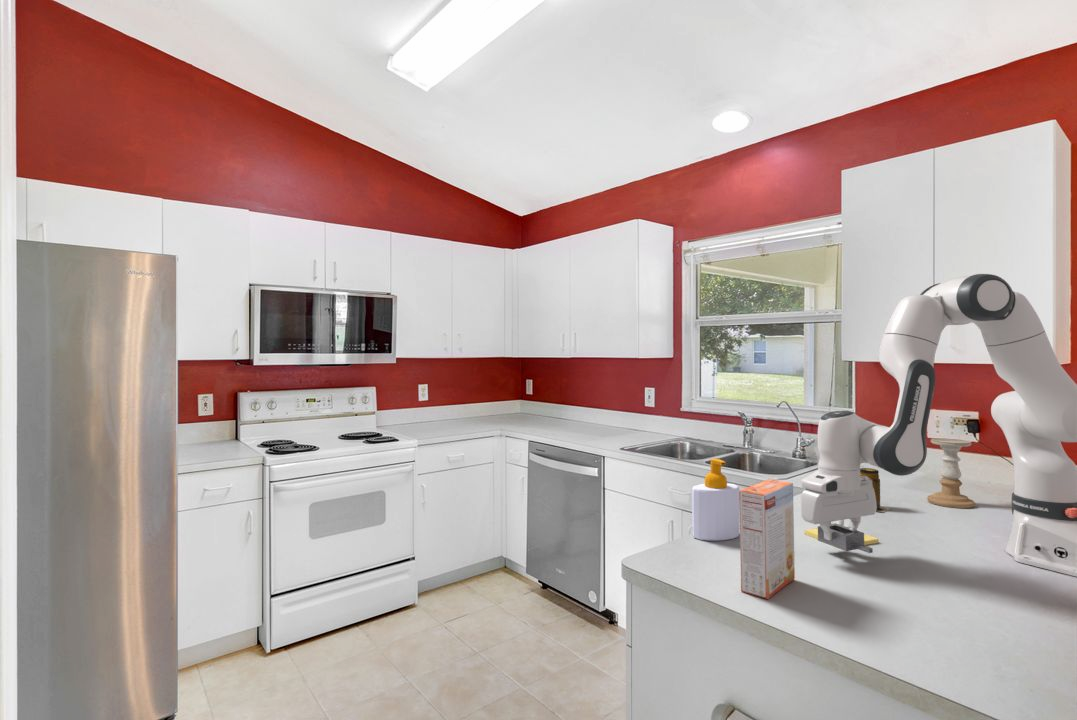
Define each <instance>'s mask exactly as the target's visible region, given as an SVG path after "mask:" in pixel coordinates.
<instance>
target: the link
mask: <svg viewBox="0 0 1077 720" xmlns="http://www.w3.org/2000/svg"><path fill="white" fill-rule="evenodd" d="M829 527H830V529H831V531H832V532H835V536H834V537H835V539H833V540H827V539H825V538H824V531H823V530H822V528H821V526H820V525H818V526H817V528H818V539H817V541H819V542H821V543H823V544H826V545H829V546H831V547H833V548H836V549H840V550H842V551H845V552H849V551H854V550H860V551H862V552H865V553H867V554H873V553H874V551H873V547H870V546H868V545H864V534H865V532H862V531H860V530H858V529H857V530H854V529H851V528H848V527H849V526H845V525H844V526H842V525H839V524H837V522H835V523H831V526H829Z"/></svg>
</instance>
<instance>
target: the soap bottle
mask: <svg viewBox="0 0 1077 720" xmlns="http://www.w3.org/2000/svg"><path fill="white" fill-rule="evenodd" d="M722 466H726V461H724V460H722V459H720V458H711V459H710V472H709V473H707V474H706V475H705V476H704V477H705V478H704V483H700V484H697V485H694V486H692V488H691V503H692V504H691V512H692V513H691V515H692V516H691V519H692V520H691V521H692V522H691V525H692V528H691V533H692V536H693V535H694V536H693V537H694V539H697V540H701V541H707V542H709V541H712V542H713V541H715V542H716V541H719V542H720V541H728V540H733V539H735V538H738V537H740V509H739V491H740V487H739V485H736V484H734V483H728V480H727V477H726V475H724V474H723V473H722V471H721V470H722V469H721V468H722Z"/></svg>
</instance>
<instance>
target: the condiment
mask: <svg viewBox="0 0 1077 720" xmlns="http://www.w3.org/2000/svg"><path fill="white" fill-rule="evenodd" d="M862 476H867V477H868V478H870V479H871V480H872V486H873V488H874V491H875V496H876V505H877V510H876V512H880V513H885V512H888V511H890V510H891V509H892V508H891V507H885V506H881V479H880V474H879V470H878V469H875V468H869V467H860V477H862Z"/></svg>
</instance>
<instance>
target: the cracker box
mask: <svg viewBox="0 0 1077 720" xmlns="http://www.w3.org/2000/svg"><path fill="white" fill-rule="evenodd" d="M739 516H740V534H739V547H740V549H739V550H740V553H739V554H740V556H739V557H740V591H741V592H742V593H745V594H749V595H753V596H755V597H759V598H762V599H766V600H769V599H771V597H773V596H774V595H775V594H776V593H778V592H779V591H781V590H782V589H783V588H784V587H786V586H787V585H788V584H790V583H791V582H793V581H794V580H795V578H796V577H795V572H796V571H795V525H794V524H795V523H794V522H795V519H794V517H795V516H794V483H793V482H790V481H783V480H777V479H769V478H768V479H766V480H763V481H761V482H758V483H755V484H752V485H750V486H748V487H746V488H745V487H744V488H743V489H739Z"/></svg>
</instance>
